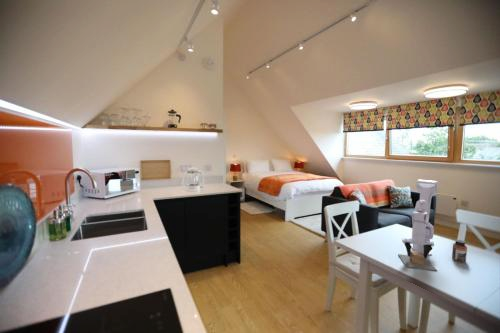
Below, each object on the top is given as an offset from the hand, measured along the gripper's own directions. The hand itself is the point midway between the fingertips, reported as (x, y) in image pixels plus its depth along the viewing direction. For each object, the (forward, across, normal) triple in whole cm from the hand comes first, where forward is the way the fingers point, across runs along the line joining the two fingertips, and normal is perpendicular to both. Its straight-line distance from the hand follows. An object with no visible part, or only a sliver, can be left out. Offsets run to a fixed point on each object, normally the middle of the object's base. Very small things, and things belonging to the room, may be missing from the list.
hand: (416, 256), depth 130 cm
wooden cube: (+3, 0, 0) cm, 3 cm away
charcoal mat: (+3, 0, 0) cm, 3 cm away
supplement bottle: (+4, +24, +10) cm, 26 cm away
